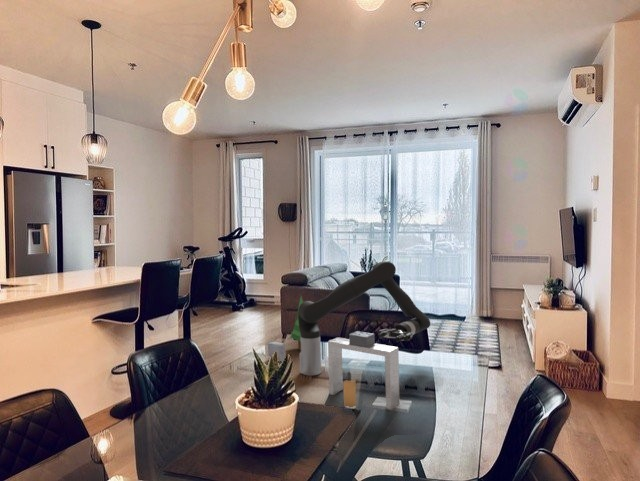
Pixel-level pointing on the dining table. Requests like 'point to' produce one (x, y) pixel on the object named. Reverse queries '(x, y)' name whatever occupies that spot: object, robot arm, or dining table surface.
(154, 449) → the dining table surface
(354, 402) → the orange plug
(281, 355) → the medicine box
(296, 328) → the decorative tree
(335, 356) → the white arch
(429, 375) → the dining table surface
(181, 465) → the dining table surface
